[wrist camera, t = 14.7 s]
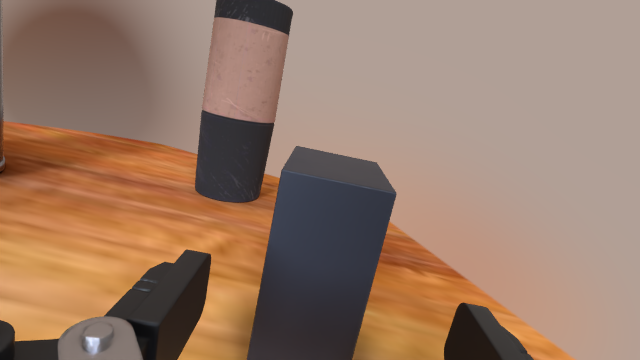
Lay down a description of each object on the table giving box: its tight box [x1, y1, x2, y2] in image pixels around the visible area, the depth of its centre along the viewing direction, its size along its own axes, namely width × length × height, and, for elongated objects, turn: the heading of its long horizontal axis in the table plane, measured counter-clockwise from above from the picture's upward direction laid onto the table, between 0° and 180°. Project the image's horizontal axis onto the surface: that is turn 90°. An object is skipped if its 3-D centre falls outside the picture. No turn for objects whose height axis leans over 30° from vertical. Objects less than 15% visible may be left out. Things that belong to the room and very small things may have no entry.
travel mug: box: [195, 0, 293, 202], centre depth 38 cm, size 8×8×20 cm
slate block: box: [247, 146, 396, 360], centre depth 18 cm, size 4×6×10 cm
